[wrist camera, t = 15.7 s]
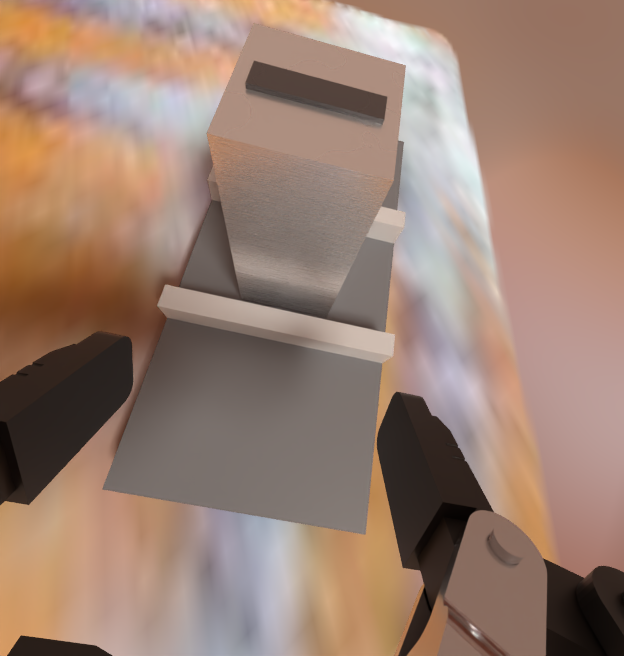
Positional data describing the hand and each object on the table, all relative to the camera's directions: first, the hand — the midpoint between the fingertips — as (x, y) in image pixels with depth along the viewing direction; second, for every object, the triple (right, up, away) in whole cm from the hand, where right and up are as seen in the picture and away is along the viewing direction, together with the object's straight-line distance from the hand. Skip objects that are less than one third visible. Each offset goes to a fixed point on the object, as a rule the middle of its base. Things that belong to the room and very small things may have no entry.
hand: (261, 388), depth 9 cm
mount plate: (0, +5, +11) cm, 12 cm away
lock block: (0, +5, +9) cm, 10 cm away
